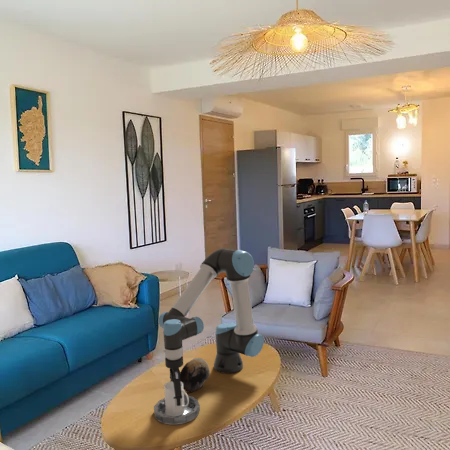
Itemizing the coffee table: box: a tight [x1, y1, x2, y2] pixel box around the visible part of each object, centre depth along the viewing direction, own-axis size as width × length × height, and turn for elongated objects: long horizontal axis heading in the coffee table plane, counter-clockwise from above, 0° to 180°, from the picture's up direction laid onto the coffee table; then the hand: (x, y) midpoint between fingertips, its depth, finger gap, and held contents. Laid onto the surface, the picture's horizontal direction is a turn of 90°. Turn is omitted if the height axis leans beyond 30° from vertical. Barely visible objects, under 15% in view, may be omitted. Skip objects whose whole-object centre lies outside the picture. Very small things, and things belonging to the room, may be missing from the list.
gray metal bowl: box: [153, 394, 201, 426], centre depth 198 cm, size 19×19×3 cm
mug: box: [163, 381, 189, 416], centre depth 196 cm, size 12×8×12 cm
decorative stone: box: [180, 357, 211, 393], centre depth 217 cm, size 18×9×15 cm, turn 137°
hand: (176, 404), depth 198 cm, fingers open, 13 cm apart
